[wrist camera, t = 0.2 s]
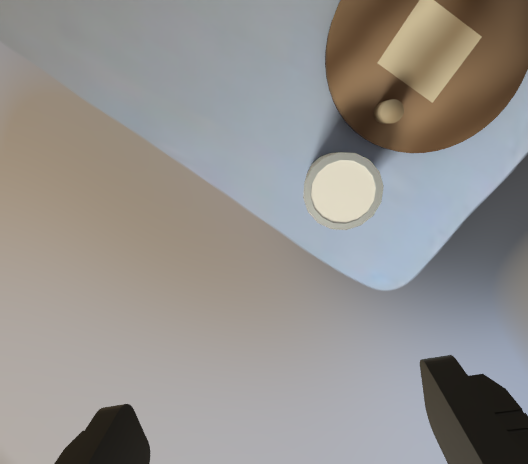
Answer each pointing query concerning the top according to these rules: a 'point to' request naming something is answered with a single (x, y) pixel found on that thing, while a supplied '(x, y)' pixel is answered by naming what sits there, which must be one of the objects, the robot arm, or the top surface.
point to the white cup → (342, 190)
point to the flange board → (425, 68)
